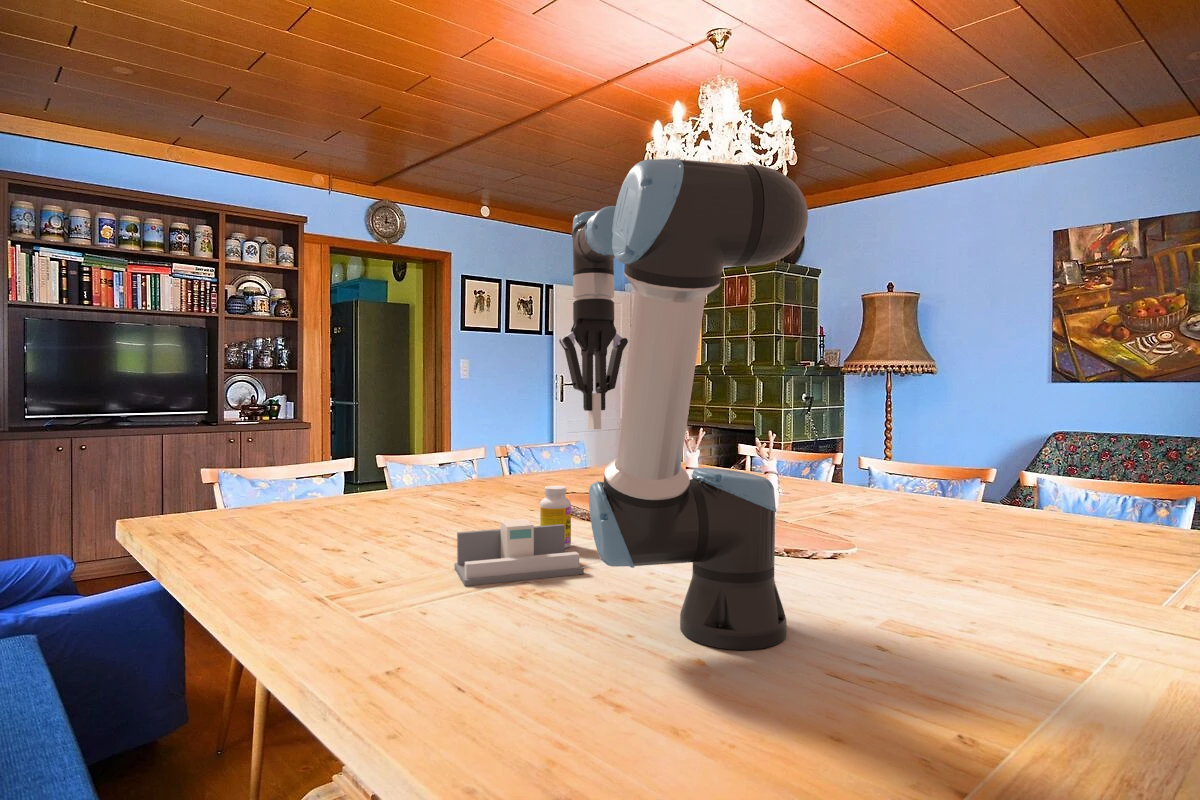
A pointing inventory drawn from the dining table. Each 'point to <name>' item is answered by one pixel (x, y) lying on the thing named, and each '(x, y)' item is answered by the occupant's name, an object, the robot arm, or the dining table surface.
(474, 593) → the dining table surface
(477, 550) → the rail base
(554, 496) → the supplement bottle
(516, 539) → the block
